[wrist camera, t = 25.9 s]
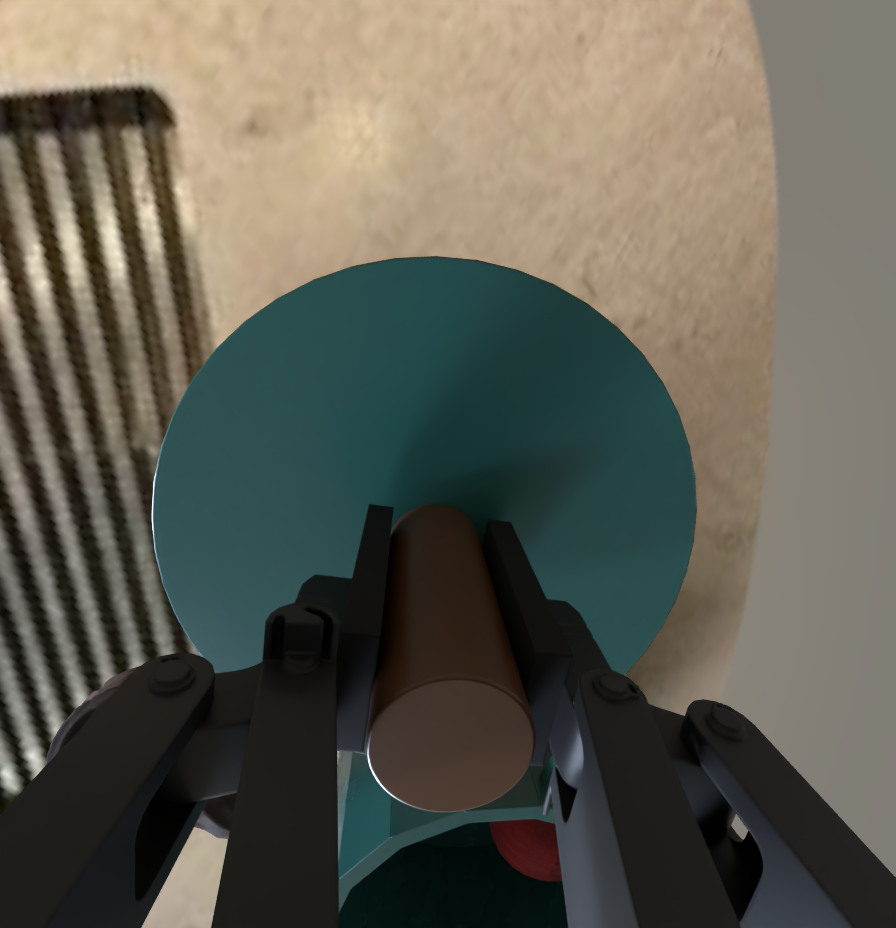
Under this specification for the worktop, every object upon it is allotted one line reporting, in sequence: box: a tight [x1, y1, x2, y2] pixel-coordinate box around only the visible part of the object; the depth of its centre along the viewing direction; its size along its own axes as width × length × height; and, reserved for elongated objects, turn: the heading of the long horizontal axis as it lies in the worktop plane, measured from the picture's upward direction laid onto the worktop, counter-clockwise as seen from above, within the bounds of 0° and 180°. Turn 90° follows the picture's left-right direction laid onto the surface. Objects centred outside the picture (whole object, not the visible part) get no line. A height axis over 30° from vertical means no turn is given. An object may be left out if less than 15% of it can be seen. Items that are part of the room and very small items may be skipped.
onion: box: [489, 819, 562, 881], centre depth 30 cm, size 6×6×8 cm
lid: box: [152, 256, 697, 812], centre depth 13 cm, size 18×18×9 cm
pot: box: [337, 744, 568, 928], centre depth 29 cm, size 17×22×10 cm
